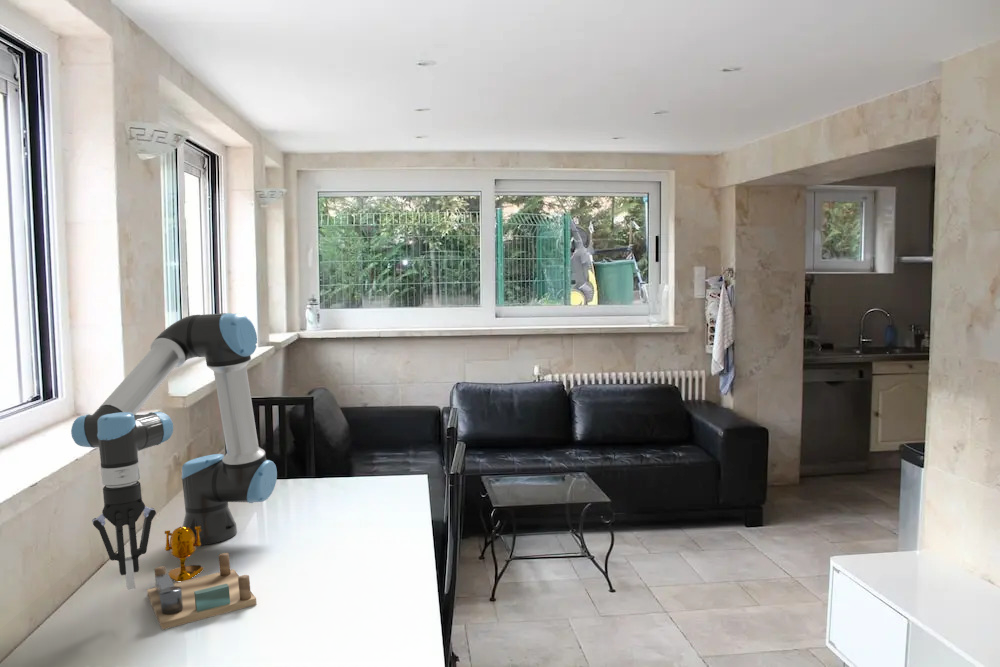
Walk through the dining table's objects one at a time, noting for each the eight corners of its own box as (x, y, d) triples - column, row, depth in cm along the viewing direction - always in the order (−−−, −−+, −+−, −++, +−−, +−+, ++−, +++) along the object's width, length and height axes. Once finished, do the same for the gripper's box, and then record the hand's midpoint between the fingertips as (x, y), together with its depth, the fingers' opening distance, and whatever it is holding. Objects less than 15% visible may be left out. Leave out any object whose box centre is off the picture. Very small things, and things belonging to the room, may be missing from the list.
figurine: (205, 563, 207) (201, 518, 206) (201, 578, 197) (197, 531, 195) (170, 568, 205) (165, 523, 203) (164, 584, 194) (160, 536, 193)
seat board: (147, 595, 188) (145, 569, 187) (234, 574, 198) (231, 549, 197) (162, 629, 169) (159, 600, 168) (256, 604, 179) (254, 576, 179)
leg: (184, 610, 174) (182, 591, 173) (163, 616, 172) (161, 596, 171) (173, 588, 187) (171, 570, 186) (153, 593, 185) (151, 574, 184)
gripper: (89, 492, 168) (99, 600, 170) (155, 481, 175) (164, 585, 176) (87, 485, 174) (96, 589, 176) (151, 475, 181) (159, 575, 183)
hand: (130, 587), depth 176 cm, fingers closed
